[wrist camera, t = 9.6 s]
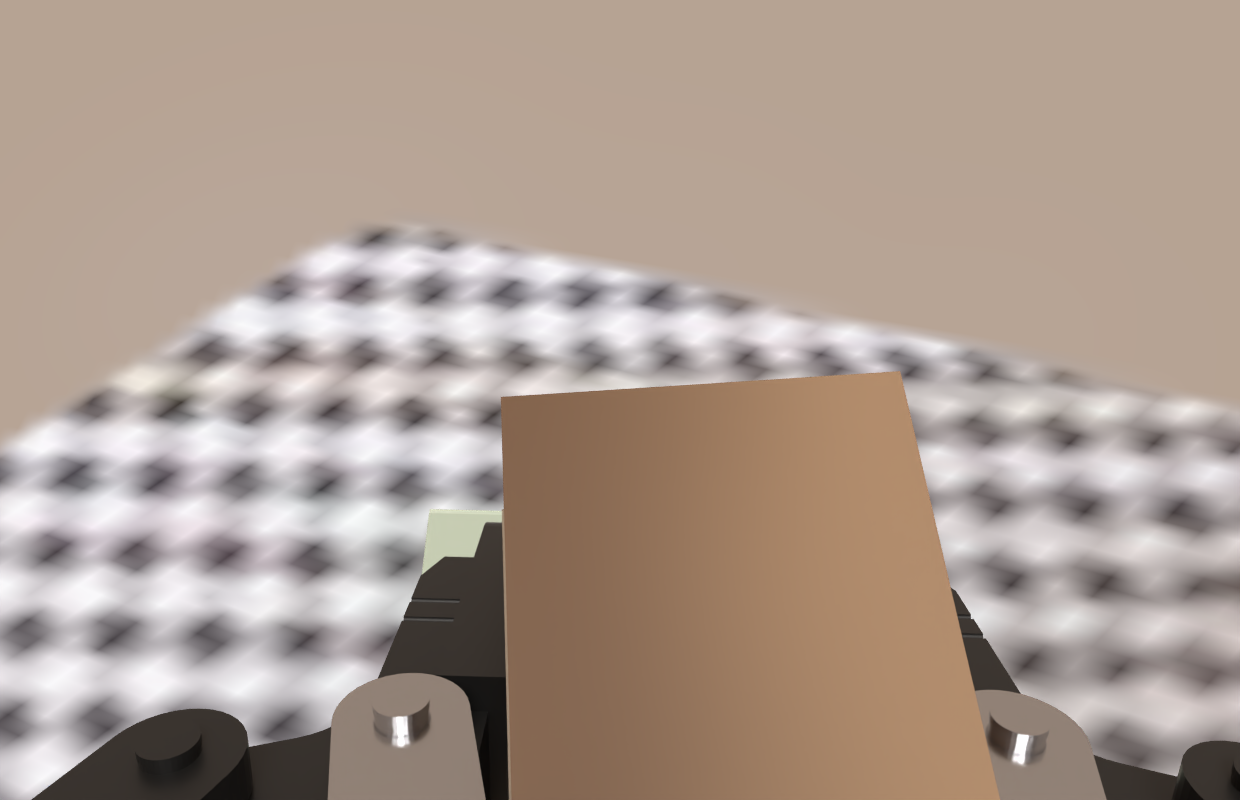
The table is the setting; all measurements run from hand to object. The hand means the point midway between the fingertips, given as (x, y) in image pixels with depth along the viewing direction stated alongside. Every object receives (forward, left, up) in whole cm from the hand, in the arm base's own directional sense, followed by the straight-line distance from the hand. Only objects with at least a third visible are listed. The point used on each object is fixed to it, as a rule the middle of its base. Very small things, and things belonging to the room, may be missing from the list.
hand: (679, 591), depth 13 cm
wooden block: (0, +2, -5) cm, 5 cm away
